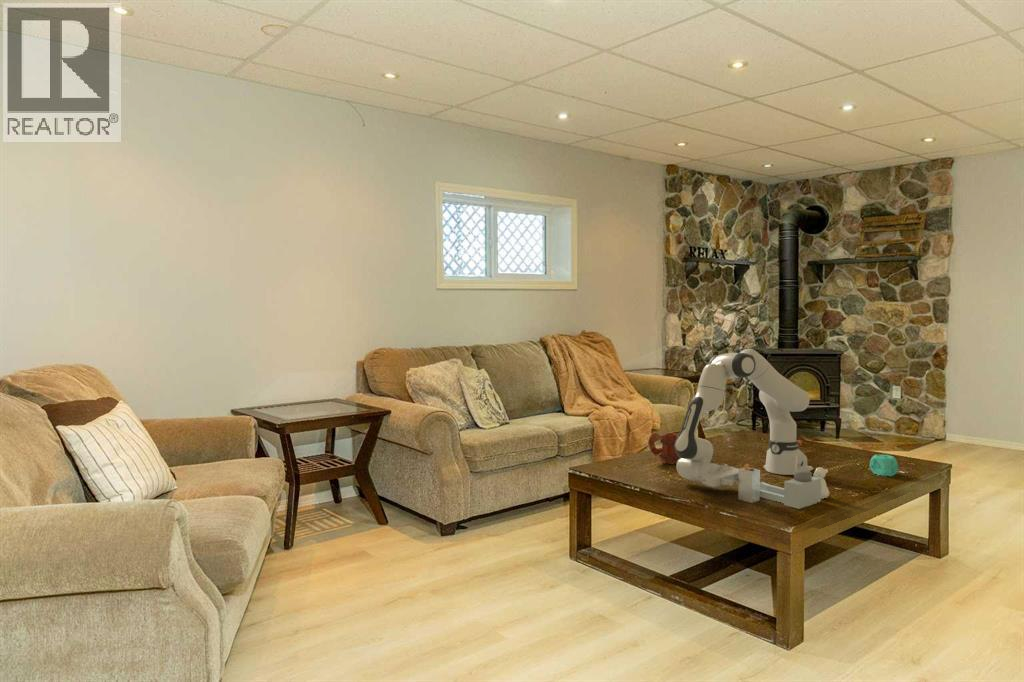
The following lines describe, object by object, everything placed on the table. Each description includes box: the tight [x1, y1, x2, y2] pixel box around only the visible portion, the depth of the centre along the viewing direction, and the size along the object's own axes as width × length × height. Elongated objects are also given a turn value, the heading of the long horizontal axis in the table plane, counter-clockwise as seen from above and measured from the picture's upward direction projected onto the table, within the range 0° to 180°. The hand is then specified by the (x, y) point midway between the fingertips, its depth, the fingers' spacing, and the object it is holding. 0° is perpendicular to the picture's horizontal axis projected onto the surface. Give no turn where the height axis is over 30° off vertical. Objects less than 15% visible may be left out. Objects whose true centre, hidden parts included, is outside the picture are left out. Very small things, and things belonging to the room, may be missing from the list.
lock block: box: [737, 463, 761, 504], centre depth 262 cm, size 5×6×14 cm
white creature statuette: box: [812, 466, 830, 500], centre depth 265 cm, size 10×9×12 cm
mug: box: [648, 431, 681, 465], centre depth 322 cm, size 15×8×15 cm, turn 84°
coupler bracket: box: [760, 470, 822, 510], centre depth 264 cm, size 15×25×12 cm, turn 36°
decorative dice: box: [869, 454, 899, 477], centre depth 299 cm, size 8×8×8 cm
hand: (740, 481), depth 265 cm, fingers open, 8 cm apart
